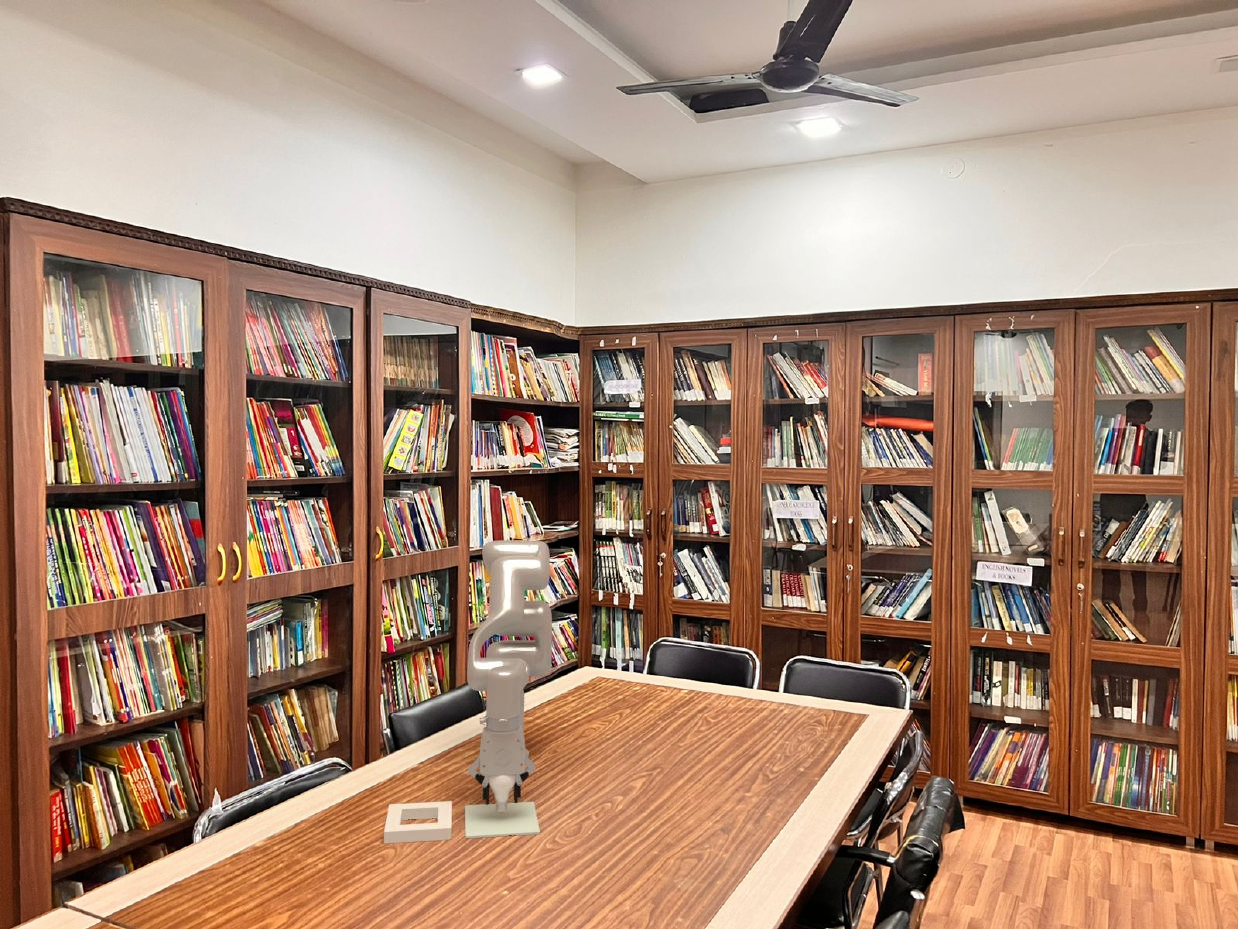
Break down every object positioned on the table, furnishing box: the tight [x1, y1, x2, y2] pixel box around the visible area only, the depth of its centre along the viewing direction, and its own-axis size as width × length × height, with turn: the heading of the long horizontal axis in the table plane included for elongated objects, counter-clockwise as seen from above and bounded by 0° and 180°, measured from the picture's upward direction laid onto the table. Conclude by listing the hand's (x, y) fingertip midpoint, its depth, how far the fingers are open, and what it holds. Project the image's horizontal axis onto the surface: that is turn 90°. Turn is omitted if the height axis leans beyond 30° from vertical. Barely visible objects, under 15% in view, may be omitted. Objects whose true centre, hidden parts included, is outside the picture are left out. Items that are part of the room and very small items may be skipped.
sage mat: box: [464, 801, 541, 839], centre depth 195 cm, size 16×16×1 cm
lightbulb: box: [488, 775, 516, 813], centre depth 195 cm, size 6×6×11 cm
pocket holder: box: [383, 800, 453, 845], centre depth 191 cm, size 14×14×2 cm
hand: (501, 801), depth 195 cm, fingers closed on lightbulb, 5 cm apart
